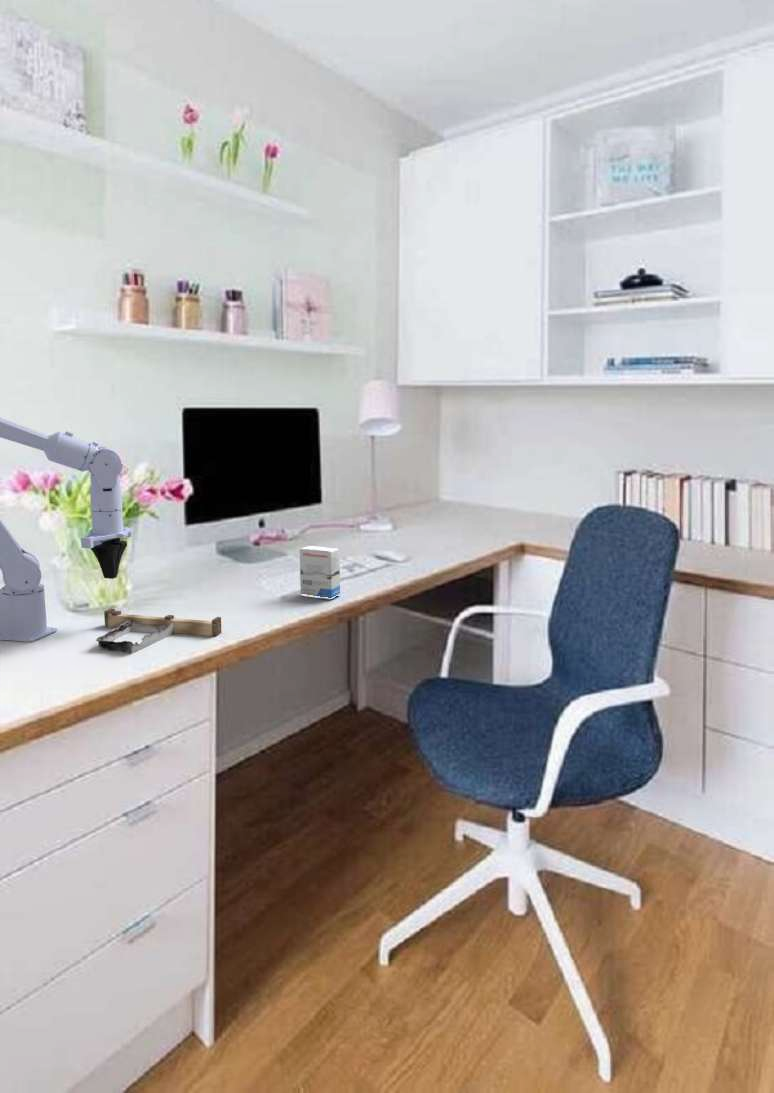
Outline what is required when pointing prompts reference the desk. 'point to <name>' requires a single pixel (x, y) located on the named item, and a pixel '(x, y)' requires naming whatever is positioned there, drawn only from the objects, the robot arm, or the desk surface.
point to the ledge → (165, 623)
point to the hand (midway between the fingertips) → (110, 577)
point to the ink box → (320, 571)
